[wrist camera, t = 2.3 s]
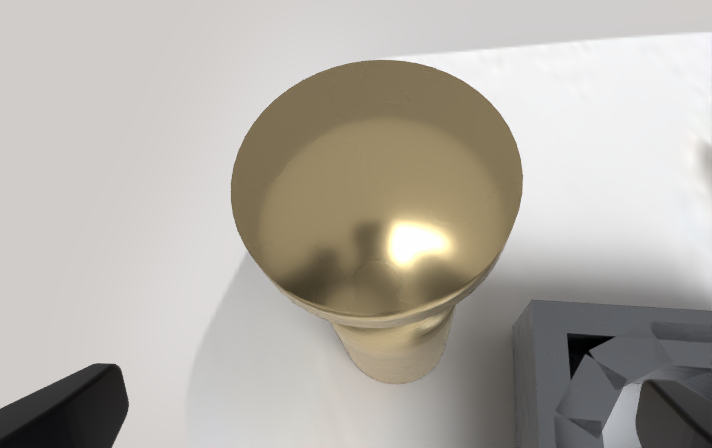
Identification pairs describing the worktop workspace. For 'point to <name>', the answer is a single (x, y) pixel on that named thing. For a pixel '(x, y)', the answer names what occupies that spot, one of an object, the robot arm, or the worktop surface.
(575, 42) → the worktop surface
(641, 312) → the jig
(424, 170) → the brass flanged cylinder
